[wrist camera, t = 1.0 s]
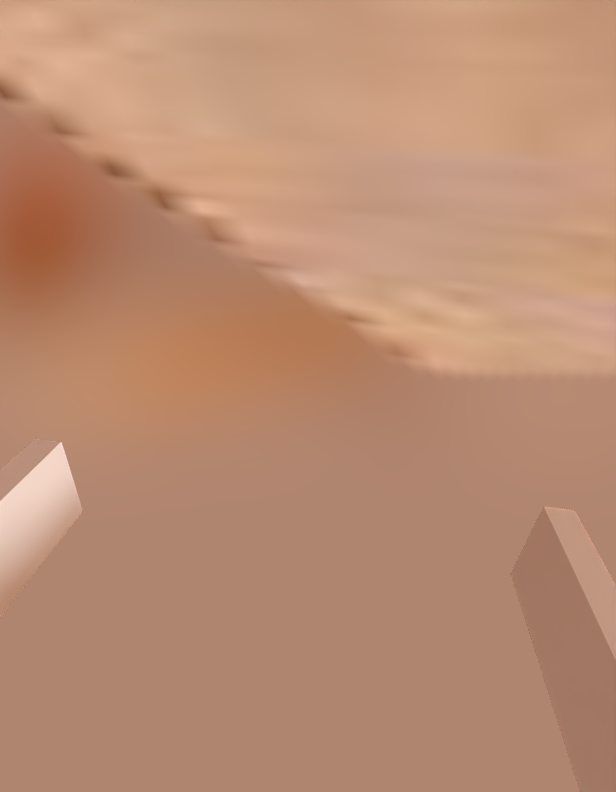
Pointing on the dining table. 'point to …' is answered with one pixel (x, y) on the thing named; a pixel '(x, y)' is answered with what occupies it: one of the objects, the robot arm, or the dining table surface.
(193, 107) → the dining table surface
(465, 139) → the dining table surface
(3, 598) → the robot arm
